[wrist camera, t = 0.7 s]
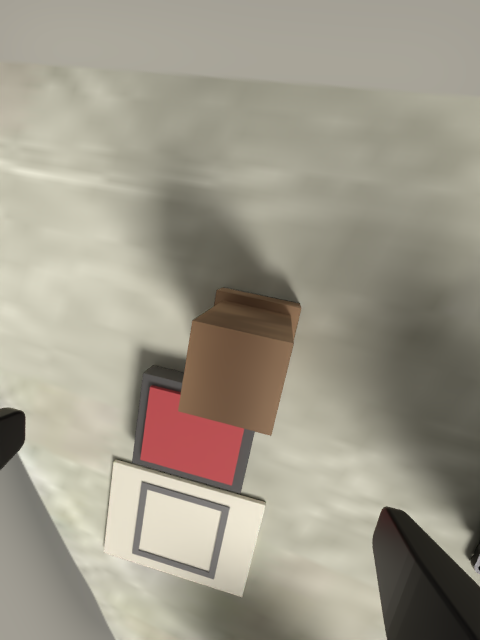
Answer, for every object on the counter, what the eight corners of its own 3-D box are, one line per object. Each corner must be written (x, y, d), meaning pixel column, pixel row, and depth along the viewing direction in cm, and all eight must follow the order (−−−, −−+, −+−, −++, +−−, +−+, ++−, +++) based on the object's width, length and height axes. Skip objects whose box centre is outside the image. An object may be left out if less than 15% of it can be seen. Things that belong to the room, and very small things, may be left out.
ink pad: (262, 392, 20) (260, 404, 18) (243, 478, 22) (239, 496, 20) (153, 365, 21) (141, 374, 19) (141, 449, 23) (129, 465, 21)
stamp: (299, 303, 19) (310, 333, 11) (282, 375, 20) (280, 449, 12) (223, 287, 19) (182, 305, 11) (210, 358, 20) (165, 418, 13)
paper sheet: (265, 502, 22) (265, 506, 22) (242, 593, 24) (242, 598, 24) (115, 459, 23) (113, 462, 23) (105, 549, 25) (103, 553, 25)
